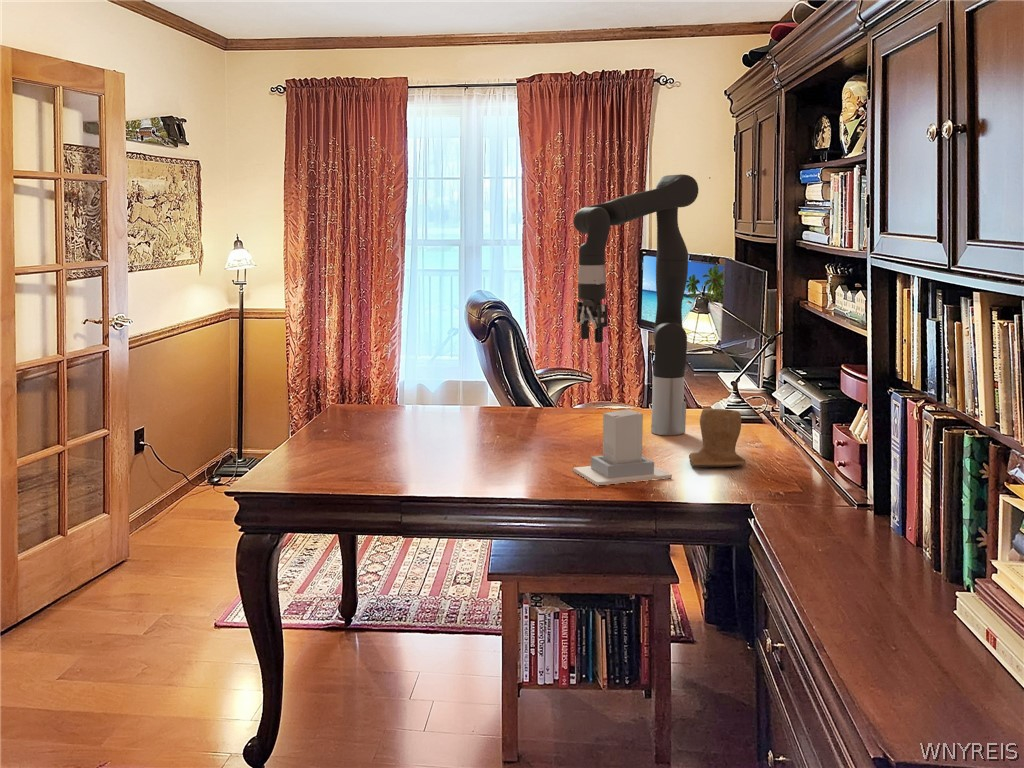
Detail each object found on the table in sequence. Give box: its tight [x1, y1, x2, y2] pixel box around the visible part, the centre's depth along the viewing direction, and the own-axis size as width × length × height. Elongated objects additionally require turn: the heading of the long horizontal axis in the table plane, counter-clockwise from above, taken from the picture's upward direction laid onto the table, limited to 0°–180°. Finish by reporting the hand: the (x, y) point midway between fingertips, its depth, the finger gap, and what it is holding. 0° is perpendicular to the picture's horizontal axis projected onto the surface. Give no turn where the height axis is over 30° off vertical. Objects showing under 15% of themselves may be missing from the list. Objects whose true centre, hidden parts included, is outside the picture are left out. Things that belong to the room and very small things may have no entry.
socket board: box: [572, 455, 673, 487], centre depth 220 cm, size 20×14×4 cm
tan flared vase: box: [688, 407, 747, 468], centre depth 229 cm, size 15×12×15 cm
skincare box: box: [602, 408, 644, 465], centre depth 219 cm, size 8×6×15 cm
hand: (591, 340), depth 247 cm, fingers open, 8 cm apart
